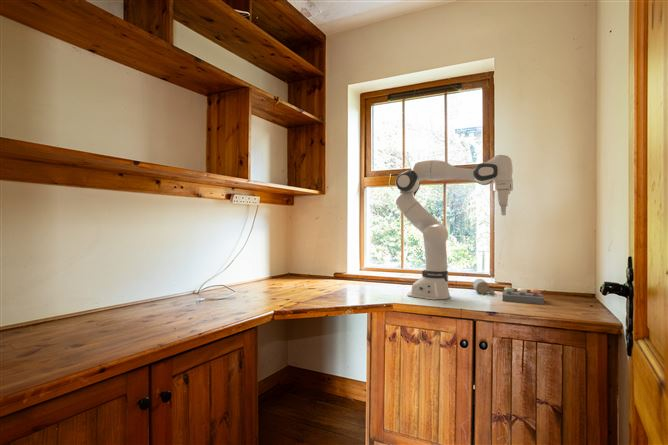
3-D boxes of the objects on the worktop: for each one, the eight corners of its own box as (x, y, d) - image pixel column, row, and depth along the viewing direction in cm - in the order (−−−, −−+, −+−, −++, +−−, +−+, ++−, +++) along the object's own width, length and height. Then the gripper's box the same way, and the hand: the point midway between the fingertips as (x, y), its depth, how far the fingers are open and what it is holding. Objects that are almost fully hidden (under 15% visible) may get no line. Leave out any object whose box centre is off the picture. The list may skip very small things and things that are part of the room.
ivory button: (517, 297, 174) (517, 289, 174) (517, 296, 177) (517, 287, 177) (527, 298, 172) (527, 290, 172) (526, 297, 175) (526, 288, 175)
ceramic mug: (476, 294, 190) (476, 280, 190) (472, 291, 198) (472, 278, 198) (496, 295, 189) (496, 281, 189) (492, 292, 197) (492, 279, 197)
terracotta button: (530, 298, 171) (530, 290, 171) (530, 297, 175) (530, 288, 175) (541, 299, 169) (541, 291, 169) (540, 298, 173) (540, 289, 173)
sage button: (504, 296, 176) (504, 288, 176) (504, 295, 180) (504, 287, 180) (513, 297, 174) (513, 289, 174) (513, 295, 178) (513, 287, 178)
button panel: (502, 300, 173) (502, 295, 173) (502, 296, 184) (502, 291, 184) (543, 304, 165) (543, 298, 165) (541, 299, 176) (541, 293, 176)
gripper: (496, 189, 182) (497, 215, 182) (495, 185, 164) (495, 214, 164) (510, 189, 179) (510, 215, 179) (510, 184, 161) (510, 214, 161)
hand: (503, 215), depth 171 cm, fingers open, 8 cm apart
